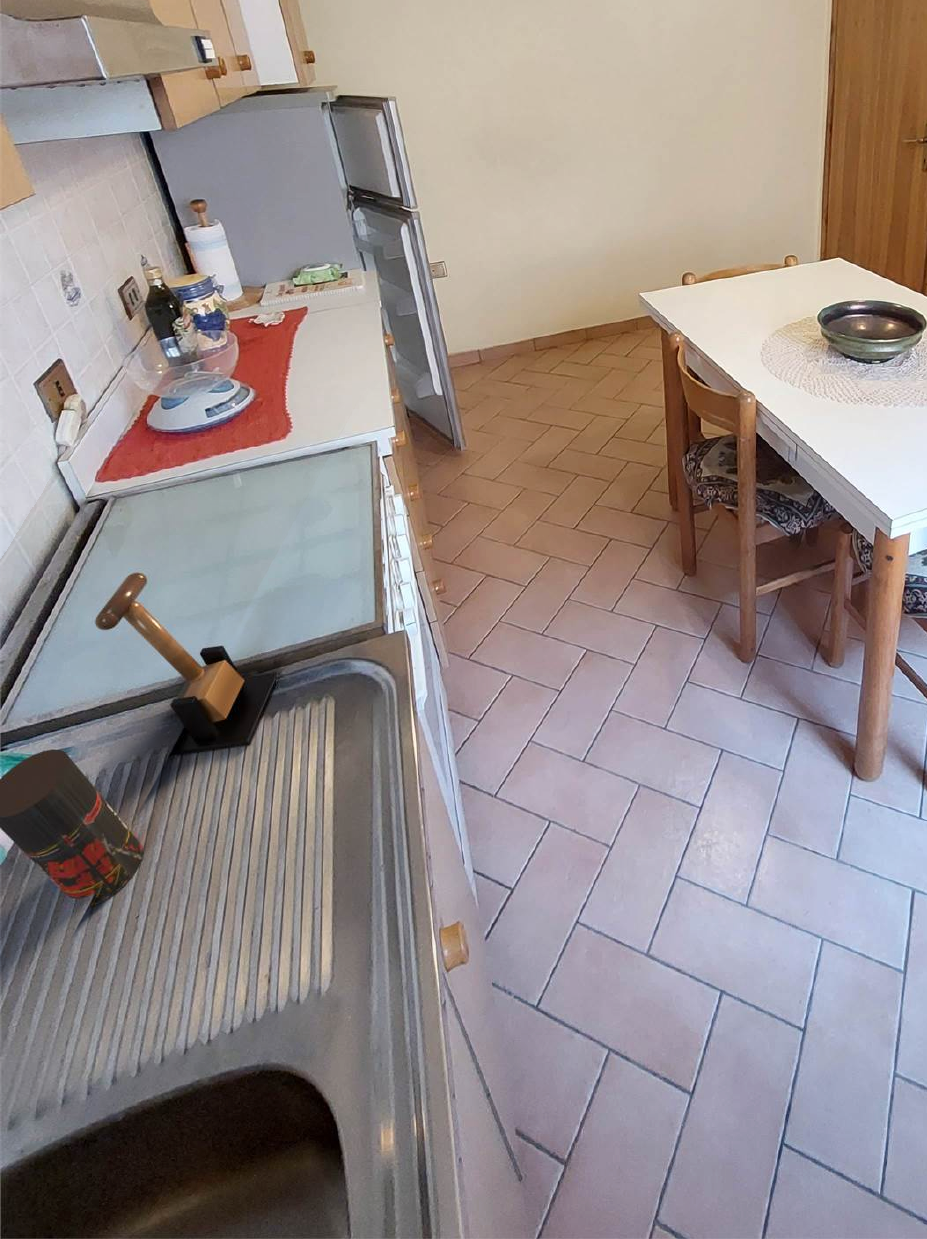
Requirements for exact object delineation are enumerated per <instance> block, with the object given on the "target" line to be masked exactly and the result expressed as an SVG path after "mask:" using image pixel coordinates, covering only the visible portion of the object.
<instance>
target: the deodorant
mask: <svg viewBox="0 0 927 1239" xmlns="http://www.w3.org/2000/svg"><path fill="white" fill-rule="evenodd" d="M0 830H1V831H2V832H3V833H5V835H7V837H8V838H9V839H10V840H11V841H12V842H13V843H14V844H15V845H16V846H17V847H18V848H19V849H20V850H21V851H22V852H23V853H24V854H25V855H26V856H27V857H28V858H29V859H30V860H31V861H32V862H33V863H34V864H35V865H36V867H38V869H40V870H41V871H42V872H43V873H44V874H45V875H46V876H47V877H48V878H49V879H50V880H51V881H52V882H53V883H54V885H56V886H57V888H59V890H61V891H62V892H63V893H64V895H65V896H67V897H69V898H71V899H82V898H88V897H90V896H92V895H93V896H92V898H91V900H90V902H89V904H88V905H87V907H88V908H89V907H94V906H97V905H99V904H102V903H103V902H106V901H108V900H109V899H110V898H112V897H114V896H115V895H117V894H118V893H119V892H120V891H121V890H123V888H125V886H127V884H128V883H129V882H130V881H131V880H132V878H133V877H134V876H135V874H136V873H137V871H138V870H139V867H140V866H141V863H142V861H143V855H144V849H143V845H142V844H141V842H140V841H139V839H138V838H137V837H136V836H135V834H134V833H133V832H132V831H131V830H130V828H129V827H128V826H127V824H126V823H125V822H124V821H123V819H121V818H120V816H119V815H118V814H117V813H116V811H115V810H114V809H113V808H112V807H111V806H110V804H109V803H108V802H107V801H106V799H105V798H104V797H103V796H102V795H101V793H100V792H99V790H97V789H96V788H95V786H94V785H93V784H92V783H91V781H90V780H89V779H88V778H87V776H86V775H85V774H84V773H83V771H81V769H80V768H79V767H78V766H77V764H76V763H75V762H74V761H73V760H72V758H71V757H70V756H69V754H68V753H67V752H65V750H62V749H55V748H54V749H52V748H51V749H48V750H42V751H40V752H37V753H35V754H33V755H30V756H29V757H26V758H25V759H22V760H21V761H20V762H19V763H17V764H15V765H14V766H13V767H11V768H10V769H9V770H8V771H6V773H4V774H3V775H2V776H1V777H0Z"/></svg>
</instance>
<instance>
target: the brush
mask: <svg viewBox="0 0 927 1239" xmlns="http://www.w3.org/2000/svg"><path fill="white" fill-rule="evenodd" d="M147 584H148V578H147V575H145V574H144V573H142V572H133V573H131V574H129V575H127V576H126V578H125V579H124V580H123V582H122V583H121V584H120V585H119V586H118V588H117V589H116V590H115V592H114V593H113V594H112V596H111V597H110V598H109V599H108V601H107V602H106V604H105V605H104V606H103V607H102V608H101V610H100V611H99V613H98V614H97V615H96V617H95V620H94V624H95V626H96V628H98V629H99V630H102V631H110V630H113V629H114V628H115V627H116V626H118V625H119V623H120V621H121V620H122V619H123V618H124V620H125V621H126V622H127V623H129V625H130V626H132V627H133V628H134V630H136V632H137V633H138V634H140V635H141V637H143V639H145V641H146V642H147V643H149V645H150V646H151V647H153V648H154V650H156V652H157V653H158V654H159V655H161V657H162V658H163V659H164V660H166V662H167V663H169V665H170V666H171V667H172V668H173V669H174V670H175V671H177V673H178V674H179V675H180V676H181V677H183V679H184V680H185V683H184V685H183V686H182V688H181V690H180V692H179V693H178V695H177V696H176V698H175V699H177V698H184V697H191V696H196V697H197V699H198V700H199V702H200V703H201V705H202V707H203V708H204V710H205V711H206V713H207V714H208V716H209V718H210V719H211V721H212V722H217V721H220V720H224V719H226V718H227V716H228V714H229V711H230V709H231V707H232V705H233V703H234V701H235V699H236V697H237V695H238V693H239V691H240V689H241V687H242V685H243V683H244V680H243V678H242V677H243V676H242V675H241V674H240V673H239V674H240V675H239V674H238V673H237V672H236V671H235V670H234V669H233V668H232V667H231V666H230V665H229V663H228V662H227V661H226V660H223V661H220V662H216V663H213V664H210V665H206V664H205V665H203V666H202V665H201V664H200V663H198V661H197V660H196V659H195V658H194V657H193V656H192V655H191V654H190V653H189V652H188V651H187V650H186V649H185V647H184V646H182V645H181V644H180V643H179V642H178V641H177V639H176V638H175V637H174V636H172V634H171V633H170V632H168V630H167V629H166V628H165V627H164V626H163V625H162V624H161V623H160V622H159V621H158V620H157V619H156V618H155V617H154V616H153V615H152V613H151V612H149V611H148V609H147V608H145V606H143V604H141V603H140V602H139V601H137V599H138V597H139V596H140V595H141V593H142V592H143V590H144V589H145V587H146V586H147Z"/></svg>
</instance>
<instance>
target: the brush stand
mask: <svg viewBox="0 0 927 1239" xmlns="http://www.w3.org/2000/svg"><path fill="white" fill-rule="evenodd" d="M199 656H200V657H201V659H202V660H203V662H204V664H205V666H206V665H210V664H213V663H216V662H220V661H223V660H226V661H227V662H228V663H229V665H230V666H231V667H232V668H233V669H234V670H235V671H236V672H237V673H238V674H239V675H240V676H241V674H240V672H239V670H238V669H237V667H236V665H235V664H234V662H233V660H232V659H231V657H230V655H229V654H228V651H227V650H226V648H225V646H224V645H217V646H216V645H215V646H209V647H202V649H201V650H200V652H199ZM277 675H280V673H279V671H275V672H269V673H262V674H254V675H253V674H252V675H246V676H241V677H242V678H243V680H244V683H243V685H242V687H241V689H240V691H239V693H238V695H237V697H236V699H235V701H234V703H233V705H232V707H231V709H230V711H229V714H228V716H227V718H226V719H224V720H220V721H217V722H212V721H211V719H210V718H209V716H208V714H207V713H206V711H205V710H204V708H203V707H202V705H201V703H200V702H199V700H198V699H197V697H196V696H191V697H184V698H177V697H176V698H177V699H176V698H173V700H172V702H170V704H169V706H170V707H171V709H172V710H173V712H174V713H175V715H176V716H177V719H179V722H181V724H182V725H183V728H182V730H181V732H180V734H179V736H178V738H177V740H176V741H175V743H174V745H173V747H172V748H171V751H170V752H169V754H168V757H169V758H170V757H177V756H185V755H191V754H199V753H205V752H211V751H218V750H220V751H221V750H225V749H232V748H240V747H247V746H250V745H251V744H252V742H253V740H254V738H255V734H256V732H257V730H258V728H259V726H260V723H261V721H262V720H263V716H264V714H265V712H266V710H267V707H268V706H269V702H270V700H271V698H272V696H273V694H274V691H275V689H276V686H277V684H276V679H277Z"/></svg>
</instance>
